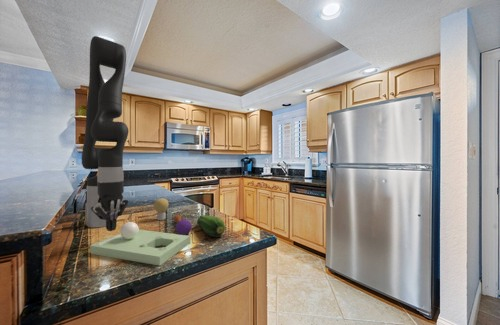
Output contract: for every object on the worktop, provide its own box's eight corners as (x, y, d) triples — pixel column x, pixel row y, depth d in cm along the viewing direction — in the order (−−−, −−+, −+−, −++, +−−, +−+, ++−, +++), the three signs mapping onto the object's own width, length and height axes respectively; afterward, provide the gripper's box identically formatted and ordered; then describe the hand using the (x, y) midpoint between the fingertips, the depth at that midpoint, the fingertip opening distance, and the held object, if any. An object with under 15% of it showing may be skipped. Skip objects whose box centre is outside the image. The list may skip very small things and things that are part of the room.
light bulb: (171, 218, 104) (171, 197, 103) (160, 222, 98) (160, 200, 97) (161, 216, 106) (161, 196, 106) (150, 220, 100) (150, 199, 100)
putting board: (90, 253, 67) (90, 244, 67) (131, 235, 82) (131, 228, 82) (159, 265, 60) (159, 256, 60) (190, 243, 76) (190, 235, 76)
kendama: (185, 212, 101) (194, 221, 83) (183, 225, 100) (191, 237, 82) (172, 211, 98) (178, 220, 80) (169, 224, 97) (175, 236, 80)
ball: (116, 240, 71) (115, 224, 70) (129, 234, 76) (129, 219, 76) (129, 242, 69) (129, 225, 69) (142, 236, 74) (142, 220, 74)
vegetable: (215, 217, 78) (197, 206, 95) (206, 236, 77) (189, 222, 94) (231, 223, 82) (211, 212, 99) (223, 242, 80) (204, 227, 97)
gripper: (118, 177, 81) (118, 223, 82) (82, 181, 68) (83, 235, 69) (135, 178, 79) (135, 225, 80) (101, 182, 66) (102, 238, 67)
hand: (111, 230), depth 74 cm, fingers closed
